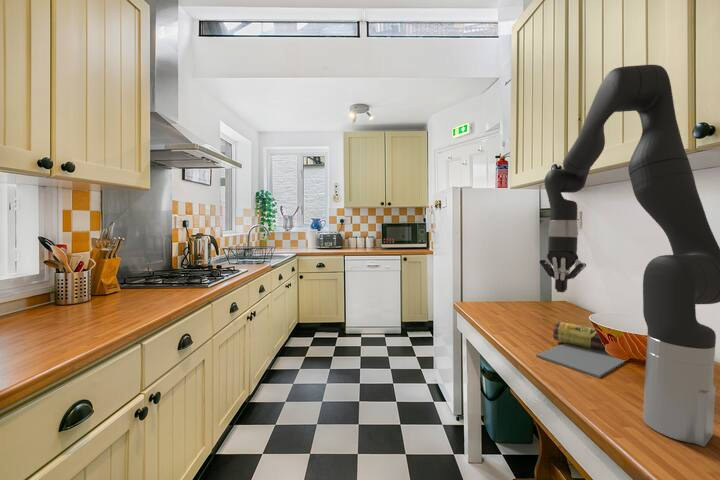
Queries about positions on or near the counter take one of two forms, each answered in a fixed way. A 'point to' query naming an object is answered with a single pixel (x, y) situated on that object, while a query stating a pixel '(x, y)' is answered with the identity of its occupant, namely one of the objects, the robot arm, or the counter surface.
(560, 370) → the counter surface
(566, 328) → the sauce bottle
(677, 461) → the counter surface
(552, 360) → the mat
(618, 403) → the counter surface
